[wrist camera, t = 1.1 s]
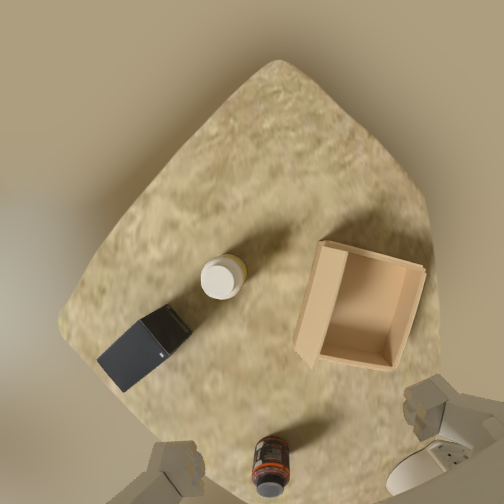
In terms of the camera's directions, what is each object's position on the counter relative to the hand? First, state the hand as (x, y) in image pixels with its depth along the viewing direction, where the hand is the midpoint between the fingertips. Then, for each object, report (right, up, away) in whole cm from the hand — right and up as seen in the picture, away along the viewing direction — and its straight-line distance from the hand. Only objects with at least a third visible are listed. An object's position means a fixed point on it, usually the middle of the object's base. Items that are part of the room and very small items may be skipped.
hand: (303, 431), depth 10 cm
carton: (+13, -1, +35) cm, 37 cm away
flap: (+6, 0, +26) cm, 27 cm away
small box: (-17, -7, +37) cm, 42 cm away
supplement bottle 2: (+2, -28, +37) cm, 46 cm away
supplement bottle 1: (-5, +4, +36) cm, 37 cm away
